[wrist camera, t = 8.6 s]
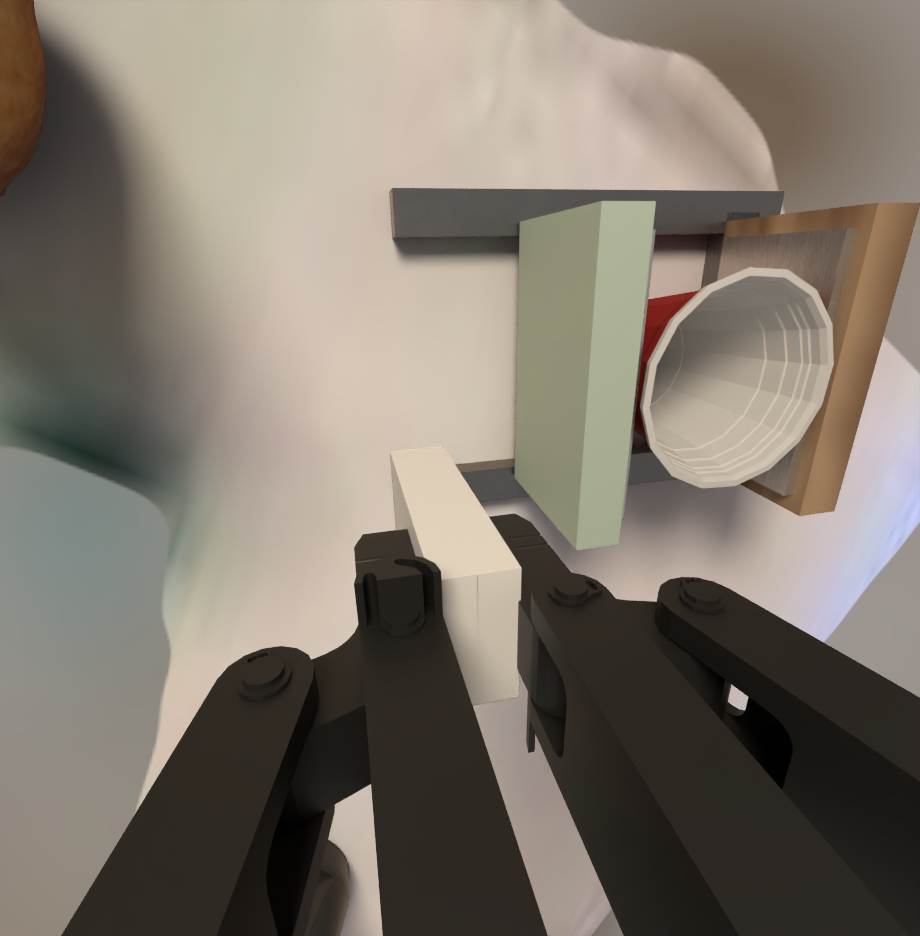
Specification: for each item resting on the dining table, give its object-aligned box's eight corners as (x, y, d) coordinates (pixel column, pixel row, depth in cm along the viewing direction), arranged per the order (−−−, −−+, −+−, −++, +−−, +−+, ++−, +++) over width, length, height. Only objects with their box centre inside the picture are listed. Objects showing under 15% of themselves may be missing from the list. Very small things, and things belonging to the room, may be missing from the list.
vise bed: (408, 500, 36) (438, 595, 26) (389, 191, 29) (418, 148, 18) (717, 466, 41) (847, 533, 31) (766, 194, 34) (958, 161, 23)
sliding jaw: (514, 477, 35) (575, 550, 26) (519, 221, 29) (601, 201, 20) (555, 473, 36) (629, 542, 27) (568, 221, 30) (669, 201, 21)
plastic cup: (560, 245, 31) (708, 235, 21) (691, 288, 35) (869, 297, 25) (515, 415, 34) (623, 481, 24) (639, 436, 38) (779, 500, 28)
